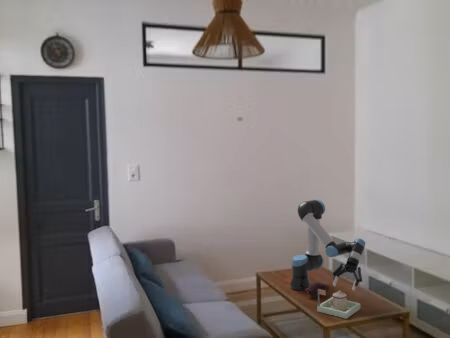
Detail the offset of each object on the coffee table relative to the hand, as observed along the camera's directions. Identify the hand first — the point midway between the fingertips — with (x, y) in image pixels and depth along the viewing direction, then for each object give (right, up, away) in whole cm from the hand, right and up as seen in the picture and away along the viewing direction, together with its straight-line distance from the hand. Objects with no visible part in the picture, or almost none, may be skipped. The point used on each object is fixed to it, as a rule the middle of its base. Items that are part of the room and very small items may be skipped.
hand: (343, 287), depth 285 cm
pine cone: (-12, -13, +23) cm, 29 cm away
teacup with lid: (-4, -13, -1) cm, 14 cm away
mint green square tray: (-3, -14, -2) cm, 14 cm away
